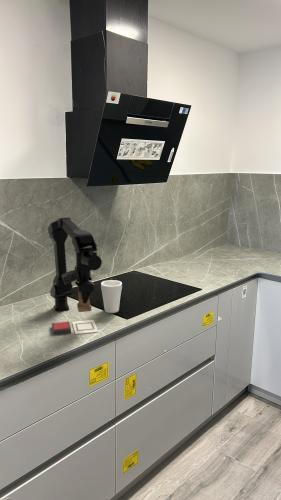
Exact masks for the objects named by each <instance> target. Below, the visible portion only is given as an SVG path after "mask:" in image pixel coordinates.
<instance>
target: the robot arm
mask: <svg viewBox="0 0 281 500" xmlns="http://www.w3.org/2000/svg"><path fill="white" fill-rule="evenodd" d="M47 233H48V235H49V239H50V240H51V242H52V243H53V247H54V248H53V250H54V251H53V252H54V261H55V262H54V265H55V276H54V279H53V280H52V285H51V286H52V287H51V288H50V290H49V294H50V297H52V298H53V299H54V305H53V308H54V309H53V310H54V312H58V311H59V312H61V311H69V310H70V306H69V304H68V301H69V300H68V296H72V294H73V287H74V286H73V283H72V282H74V283H75V285H76V286H77V292H78V291H79V292H81V294H82V299H83V303H84V304H85V303H87V301H88V298H89V296H91V293H92V292H95V291H96V285H95V283H94V282H93V281H92V280H93V278H92V274H91V273H92V271H98V270H99V269H100V268H101V266H102V263H103V262H102V261H103V260H102V258H101V257H100V256H99V255H98V253H97V251H98V248H97V244H96V241H95V239H94V235H92V234H91V232H89V231H87V230H84V229H83V230H82V229H81V228H80V227H79V226H77V225H76V223H74V221H72V218H71V217H59V218H57V220H55V221H53V222H51V223H50V224H49V225H48V227H47ZM68 237H70V238H71V243H72V246H73V247H74V250H73V251H74V252H75V266H74V269H73V270H70V271H67V259H66V258H67V255H66V241H67V240H68Z"/></svg>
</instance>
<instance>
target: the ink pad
mask: <svg viewBox="0 0 281 500" xmlns="http://www.w3.org/2000/svg"><path fill="white" fill-rule="evenodd" d="M51 329H52V336H54V335H63V334H64V335H65V334H71V333H72V328H71V324H70V321H60V322H59V321H58V322H51Z"/></svg>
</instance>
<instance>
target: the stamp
mask: <svg viewBox="0 0 281 500" xmlns="http://www.w3.org/2000/svg"><path fill="white" fill-rule="evenodd" d="M77 292H78V294H77V296H78V302H77V303H76V305H77V307H76V308H77V310H78V311H77V312H78V313H84V312H85V313H87V312H91V311H92V305H91V303H90V302H91V301H90V299H91V298H90V296H91V295H90V296H89V298H88V301H87V303H85V304H84V303H83V299H82V294H81V292H79V291H78V290H77Z"/></svg>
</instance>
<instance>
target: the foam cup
mask: <svg viewBox="0 0 281 500" xmlns="http://www.w3.org/2000/svg"><path fill="white" fill-rule="evenodd" d="M100 288H101V293H102V299H103V300H102V301H103V307H104V311H105V313H107V314H108V313H109V314H115V313H118V312H119V310H120V303H121V302H120V301H121V294H122V289H123V283H122V281H120V280H116V279H115V280H113V279H109V280H103V281H101V282H100Z"/></svg>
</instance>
